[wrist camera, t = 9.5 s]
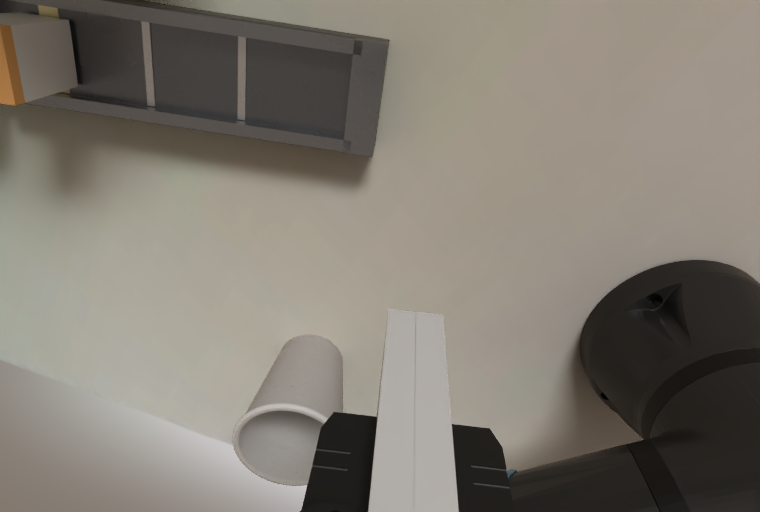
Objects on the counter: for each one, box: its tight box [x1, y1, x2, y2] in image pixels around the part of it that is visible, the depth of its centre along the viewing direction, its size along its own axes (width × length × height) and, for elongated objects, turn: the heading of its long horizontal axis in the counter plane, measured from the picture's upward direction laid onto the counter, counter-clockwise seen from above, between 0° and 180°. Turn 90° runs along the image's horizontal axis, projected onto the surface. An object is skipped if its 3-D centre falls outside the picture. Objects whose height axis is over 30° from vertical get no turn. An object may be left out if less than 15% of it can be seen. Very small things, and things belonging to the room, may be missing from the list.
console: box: [0, 0, 389, 157], centre depth 32 cm, size 7×28×6 cm, turn 82°
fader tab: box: [0, 12, 78, 106], centre depth 30 cm, size 4×3×6 cm
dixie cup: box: [233, 335, 343, 486], centre depth 42 cm, size 8×8×10 cm
